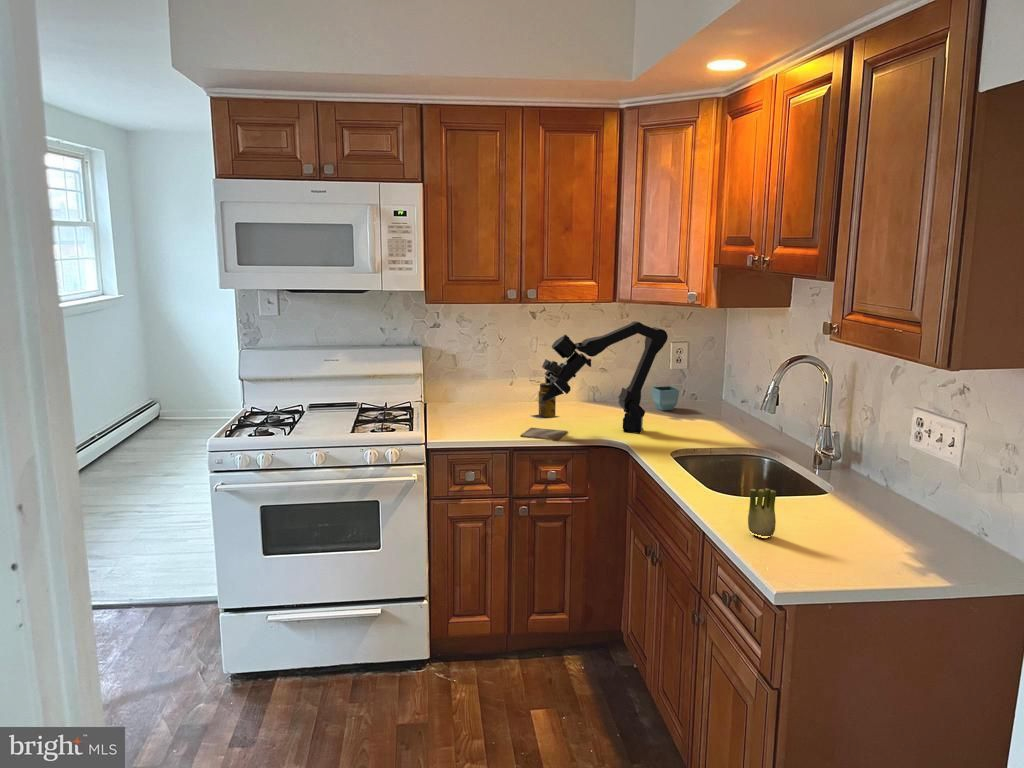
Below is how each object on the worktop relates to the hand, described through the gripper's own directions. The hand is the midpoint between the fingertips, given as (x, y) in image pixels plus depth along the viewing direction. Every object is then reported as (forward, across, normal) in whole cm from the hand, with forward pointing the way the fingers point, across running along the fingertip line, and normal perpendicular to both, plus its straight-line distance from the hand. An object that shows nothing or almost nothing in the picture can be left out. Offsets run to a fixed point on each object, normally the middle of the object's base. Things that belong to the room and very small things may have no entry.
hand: (540, 398), depth 278 cm
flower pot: (-32, -34, +52) cm, 70 cm away
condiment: (+4, 0, +6) cm, 7 cm away
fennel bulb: (-13, +103, +33) cm, 109 cm away
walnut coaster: (+9, 0, +10) cm, 13 cm away
